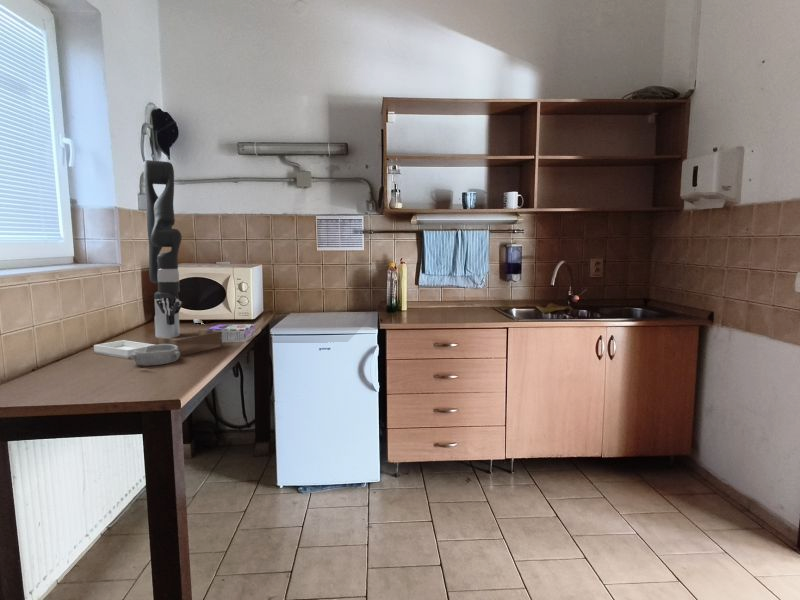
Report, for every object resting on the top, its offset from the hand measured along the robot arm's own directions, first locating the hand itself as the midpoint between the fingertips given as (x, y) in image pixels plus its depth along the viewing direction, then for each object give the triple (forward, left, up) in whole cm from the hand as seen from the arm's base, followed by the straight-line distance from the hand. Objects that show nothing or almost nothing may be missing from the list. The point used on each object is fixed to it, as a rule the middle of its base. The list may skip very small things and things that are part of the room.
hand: (170, 324), depth 180 cm
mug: (-33, +42, -10) cm, 54 cm away
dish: (+17, -18, -9) cm, 27 cm away
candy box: (+2, +18, -6) cm, 19 cm away
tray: (-6, -15, -9) cm, 18 cm away
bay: (+9, 0, -9) cm, 13 cm away
